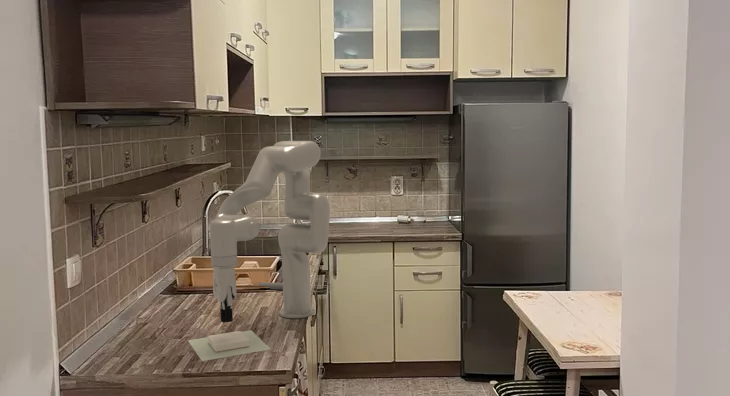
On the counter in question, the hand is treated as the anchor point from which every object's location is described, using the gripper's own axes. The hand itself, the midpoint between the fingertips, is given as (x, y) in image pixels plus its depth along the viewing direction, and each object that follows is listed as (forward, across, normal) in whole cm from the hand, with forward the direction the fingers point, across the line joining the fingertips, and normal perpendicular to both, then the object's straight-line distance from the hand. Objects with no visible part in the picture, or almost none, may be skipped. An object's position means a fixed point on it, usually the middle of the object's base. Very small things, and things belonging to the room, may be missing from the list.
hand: (226, 321), depth 195 cm
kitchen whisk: (+8, -52, +39) cm, 65 cm away
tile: (+6, -5, 0) cm, 7 cm away
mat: (+8, 0, 0) cm, 8 cm away
